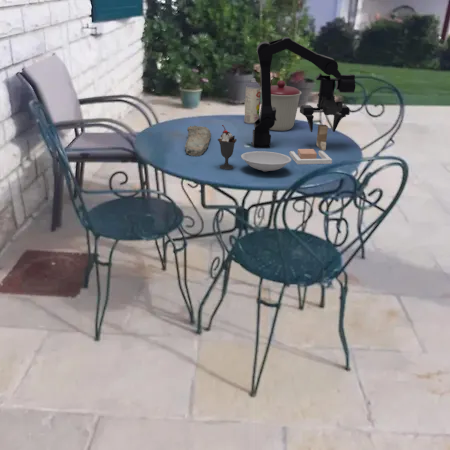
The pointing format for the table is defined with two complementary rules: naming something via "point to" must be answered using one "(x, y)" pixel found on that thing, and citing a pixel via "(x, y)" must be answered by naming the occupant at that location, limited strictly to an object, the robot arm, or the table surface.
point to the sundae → (226, 147)
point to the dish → (265, 160)
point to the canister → (284, 105)
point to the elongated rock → (197, 140)
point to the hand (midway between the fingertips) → (322, 131)
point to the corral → (324, 160)
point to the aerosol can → (252, 102)
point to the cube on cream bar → (322, 136)
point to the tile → (307, 154)
